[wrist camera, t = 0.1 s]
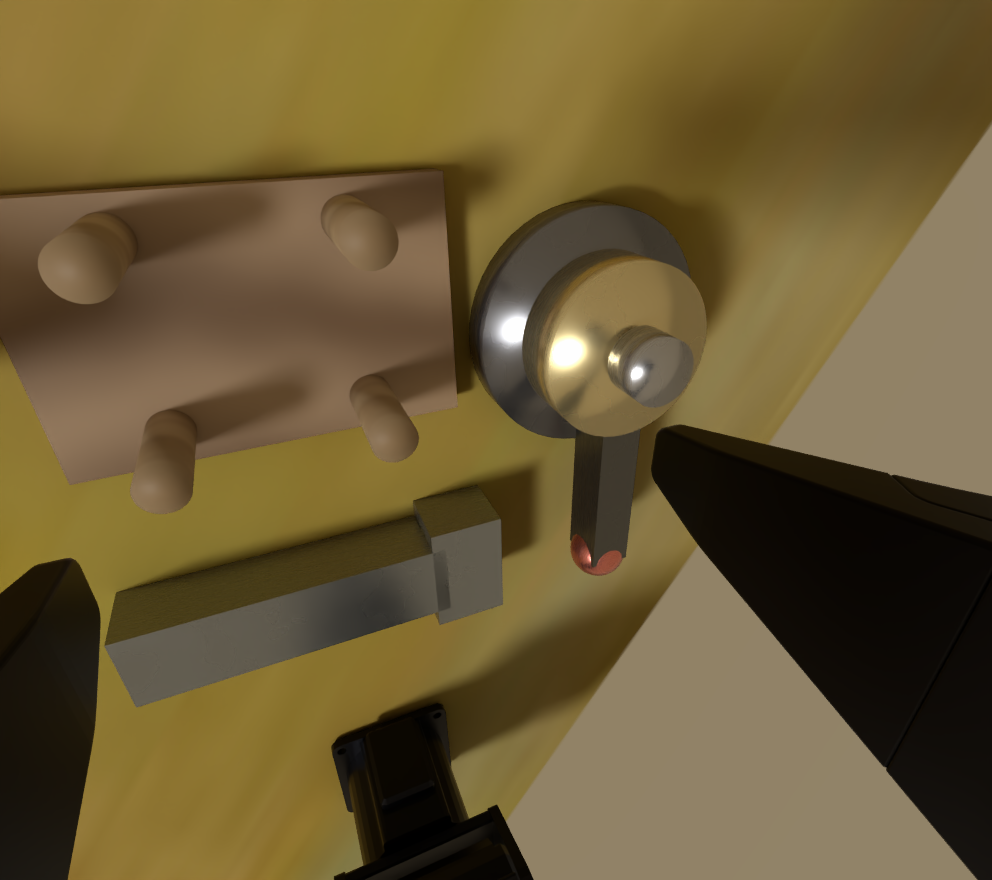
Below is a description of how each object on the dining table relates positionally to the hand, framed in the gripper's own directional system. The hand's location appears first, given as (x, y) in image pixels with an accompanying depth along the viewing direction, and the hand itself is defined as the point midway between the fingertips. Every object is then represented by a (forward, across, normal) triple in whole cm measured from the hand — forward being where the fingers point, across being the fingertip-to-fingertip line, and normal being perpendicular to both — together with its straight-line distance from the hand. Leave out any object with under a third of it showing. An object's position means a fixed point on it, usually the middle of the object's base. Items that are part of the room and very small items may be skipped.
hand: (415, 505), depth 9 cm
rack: (+14, +2, +1) cm, 15 cm away
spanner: (+15, +1, +13) cm, 20 cm away
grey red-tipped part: (+13, -11, +7) cm, 18 cm away
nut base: (+14, -11, +3) cm, 18 cm away
